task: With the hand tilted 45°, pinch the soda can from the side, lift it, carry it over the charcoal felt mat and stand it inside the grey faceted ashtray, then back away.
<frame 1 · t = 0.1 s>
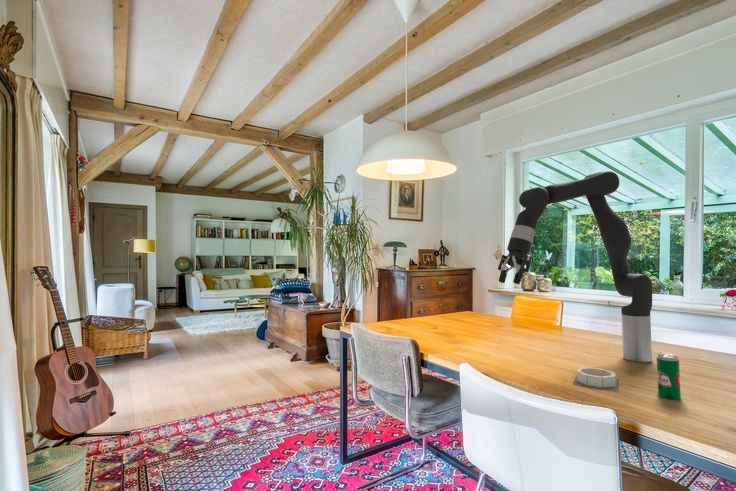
hand: (508, 283, 133), 31 cm above the table, tool tilted 20°, fingers open, 8 cm apart
mat: (596, 382, 120), on the table
soda can: (669, 398, 107), on the table
grey faceted ashtray: (596, 381, 120), resting on mat
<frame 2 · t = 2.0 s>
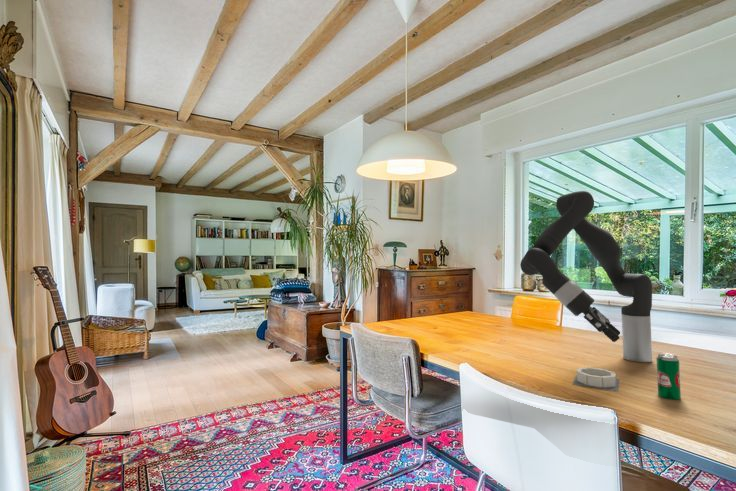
hand: (617, 337, 114), 16 cm above the table, tool tilted 45°, fingers open, 8 cm apart
nothing on the table moved.
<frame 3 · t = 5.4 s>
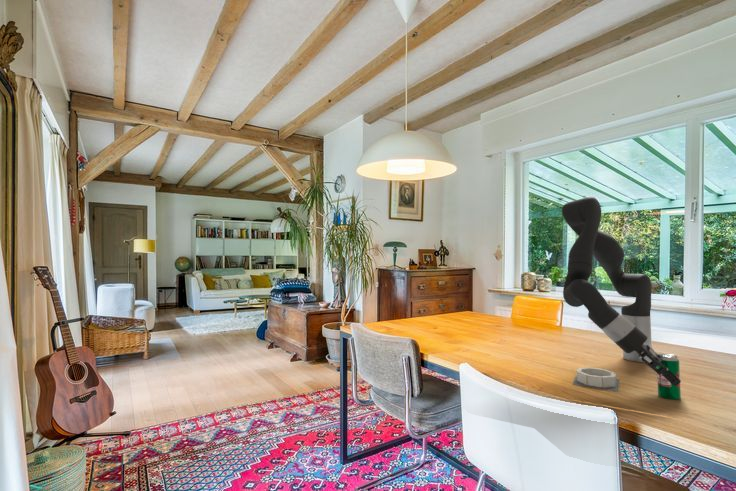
hand: (676, 380, 106), 5 cm above the table, tool tilted 45°, fingers closed on soda can, 5 cm apart
soda can: (669, 398, 107), on the table, touching gripper
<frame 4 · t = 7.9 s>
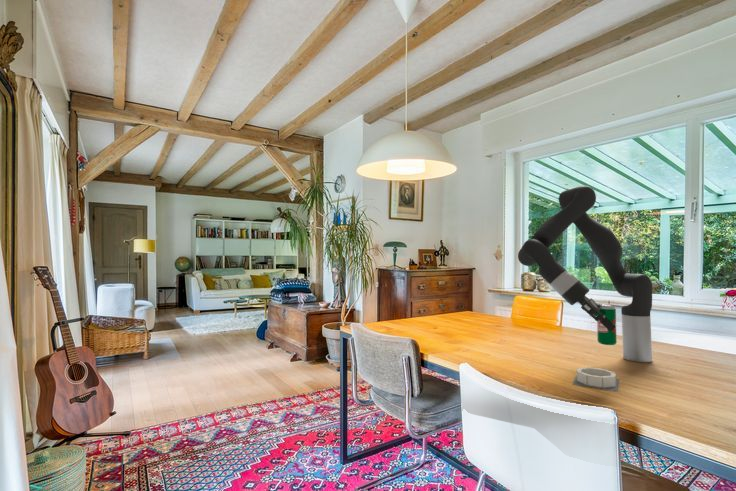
hand: (613, 327, 117), 18 cm above the table, tool tilted 45°, fingers closed on soda can, 5 cm apart
soda can: (607, 344, 118), point 13 cm above the table, touching gripper
when the fingers open (6 cm above the table, at t = 10.9 s): soda can stays where it is, resting on mat.
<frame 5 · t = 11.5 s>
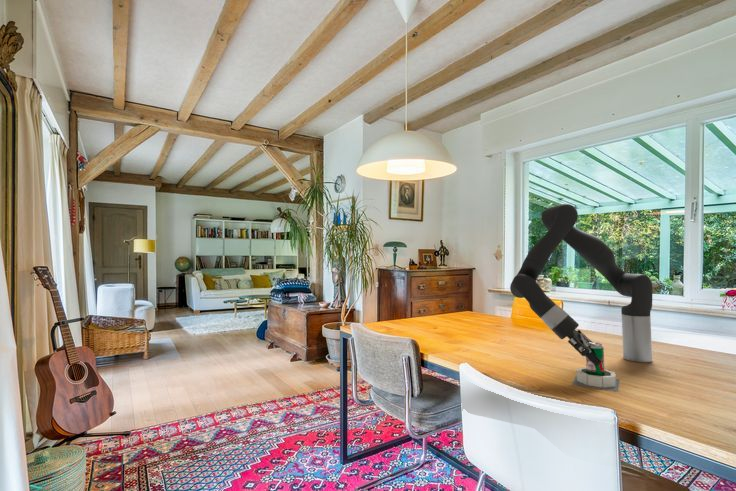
hand: (600, 360, 120), 7 cm above the table, tool tilted 45°, fingers open, 8 cm apart
soda can: (595, 382, 120), resting on mat
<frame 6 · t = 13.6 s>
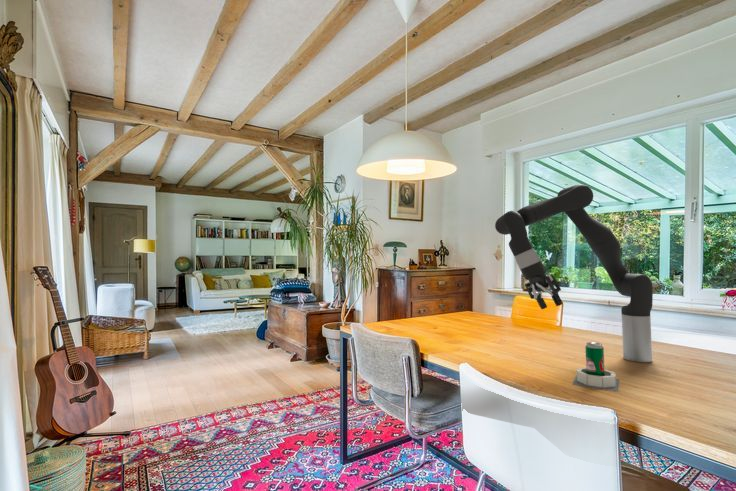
hand: (551, 306, 130), 23 cm above the table, tool tilted 25°, fingers open, 8 cm apart
nothing on the table moved.
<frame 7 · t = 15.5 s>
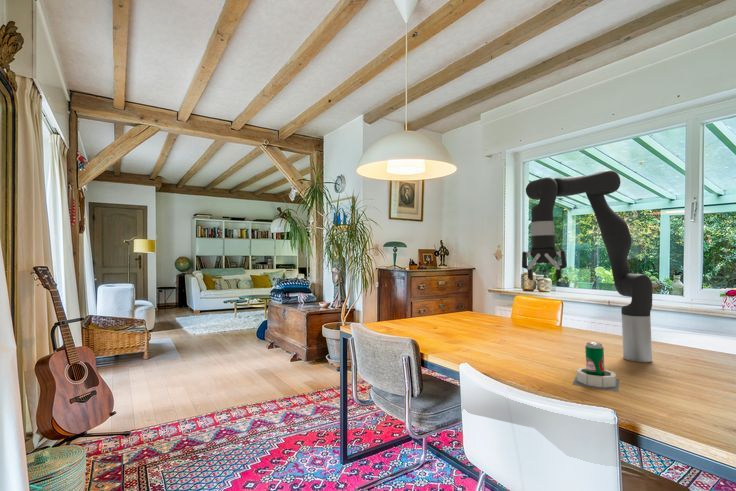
hand: (544, 280, 133), 32 cm above the table, tool pointing down, fingers open, 8 cm apart
nothing on the table moved.
at the end: soda can 0.2 cm off-centre on the grey faceted ashtray, point 0.0 cm above the grey faceted ashtray's base; soda can tilted 0°; the gripper is holding nothing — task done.
